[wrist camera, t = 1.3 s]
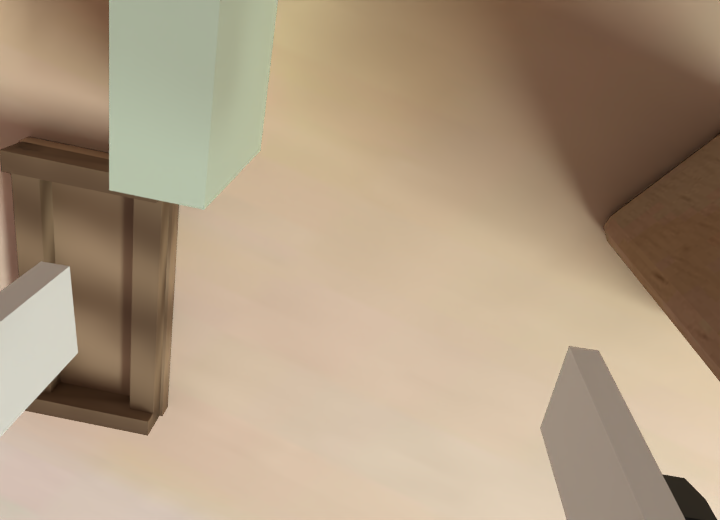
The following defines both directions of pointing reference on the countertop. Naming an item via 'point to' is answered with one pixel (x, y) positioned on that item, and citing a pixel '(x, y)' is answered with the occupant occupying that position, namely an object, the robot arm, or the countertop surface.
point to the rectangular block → (186, 94)
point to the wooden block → (679, 247)
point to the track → (99, 281)
